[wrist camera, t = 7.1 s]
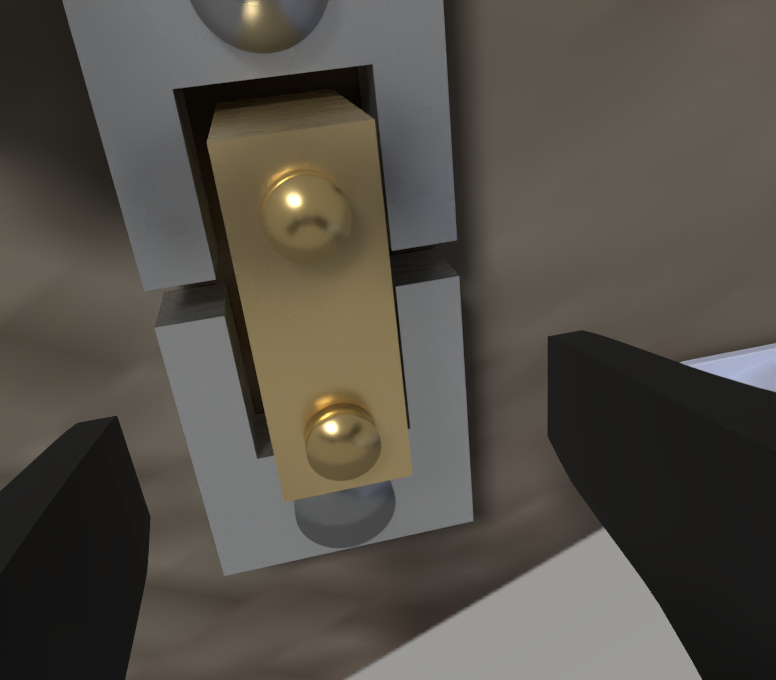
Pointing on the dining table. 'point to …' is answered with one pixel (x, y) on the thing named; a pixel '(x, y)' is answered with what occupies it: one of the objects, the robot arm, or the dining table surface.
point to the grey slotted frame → (200, 249)
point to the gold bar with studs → (314, 285)
